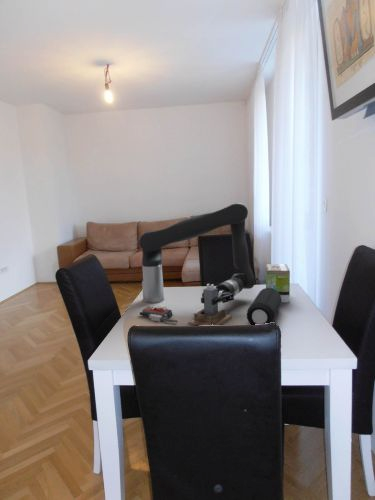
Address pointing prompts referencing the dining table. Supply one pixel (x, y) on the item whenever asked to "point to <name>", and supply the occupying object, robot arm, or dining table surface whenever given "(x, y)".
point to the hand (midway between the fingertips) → (207, 301)
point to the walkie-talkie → (157, 313)
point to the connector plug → (208, 296)
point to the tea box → (279, 280)
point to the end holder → (209, 318)
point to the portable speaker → (264, 307)
